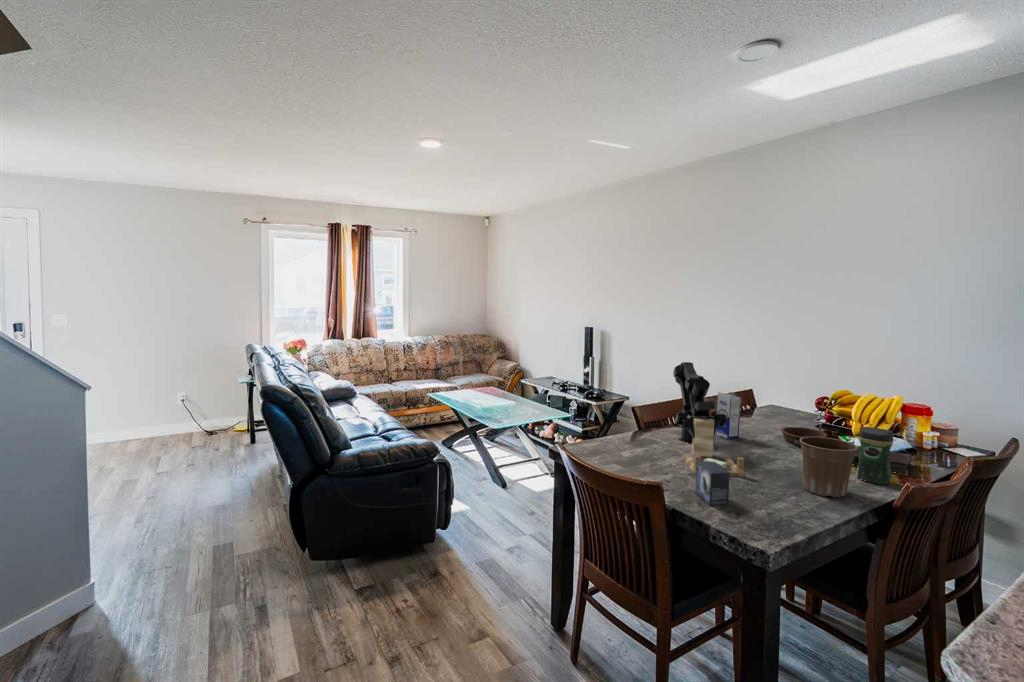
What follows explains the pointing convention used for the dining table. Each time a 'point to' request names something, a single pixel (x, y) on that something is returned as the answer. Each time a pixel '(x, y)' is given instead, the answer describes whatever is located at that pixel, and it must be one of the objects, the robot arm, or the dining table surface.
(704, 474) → the small box
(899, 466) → the diary
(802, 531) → the dining table surface
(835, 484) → the plant pot
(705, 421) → the pale wooden block
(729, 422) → the milk carton
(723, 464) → the offcut top
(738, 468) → the rack
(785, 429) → the dish
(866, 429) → the coffee jar
